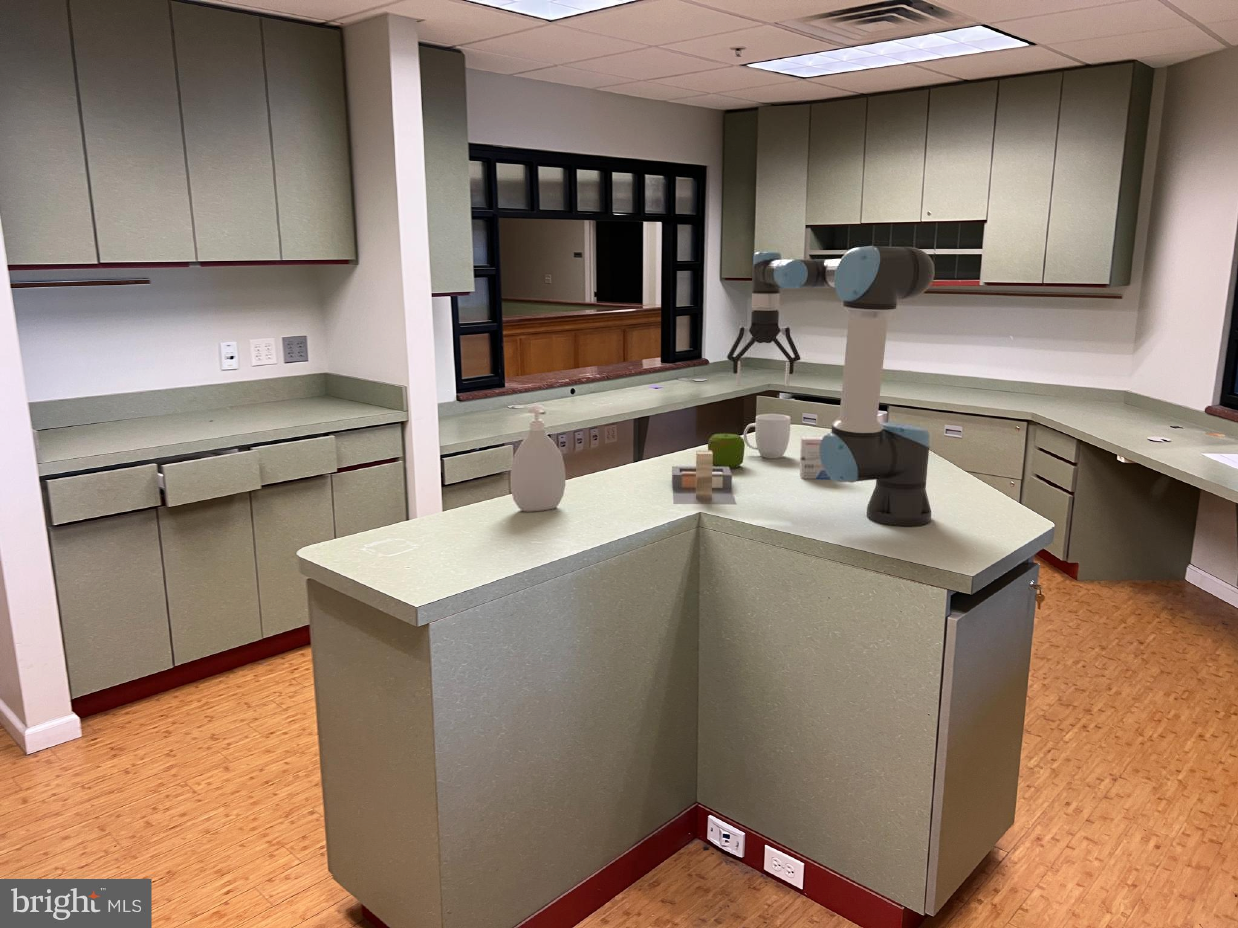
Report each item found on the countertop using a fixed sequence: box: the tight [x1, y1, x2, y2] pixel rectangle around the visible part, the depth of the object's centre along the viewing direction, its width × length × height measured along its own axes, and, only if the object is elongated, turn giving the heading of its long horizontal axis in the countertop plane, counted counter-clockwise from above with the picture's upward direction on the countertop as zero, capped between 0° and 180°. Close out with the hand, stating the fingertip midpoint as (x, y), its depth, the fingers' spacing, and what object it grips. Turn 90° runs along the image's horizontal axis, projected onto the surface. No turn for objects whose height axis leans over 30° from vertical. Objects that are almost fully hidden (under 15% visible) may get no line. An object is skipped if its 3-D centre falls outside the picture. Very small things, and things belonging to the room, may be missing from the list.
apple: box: [707, 432, 746, 470], centre depth 270 cm, size 11×11×11 cm
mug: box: [743, 413, 791, 460], centre depth 284 cm, size 15×11×13 cm
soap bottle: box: [509, 403, 566, 513], centre depth 220 cm, size 14×8×27 cm, turn 114°
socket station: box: [671, 465, 737, 505], centre depth 237 cm, size 26×16×6 cm, turn 178°
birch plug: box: [695, 450, 713, 499], centre depth 230 cm, size 4×4×12 cm
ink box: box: [799, 436, 832, 480], centre depth 256 cm, size 9×5×12 cm, turn 84°
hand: (762, 385), depth 248 cm, fingers open, 13 cm apart
